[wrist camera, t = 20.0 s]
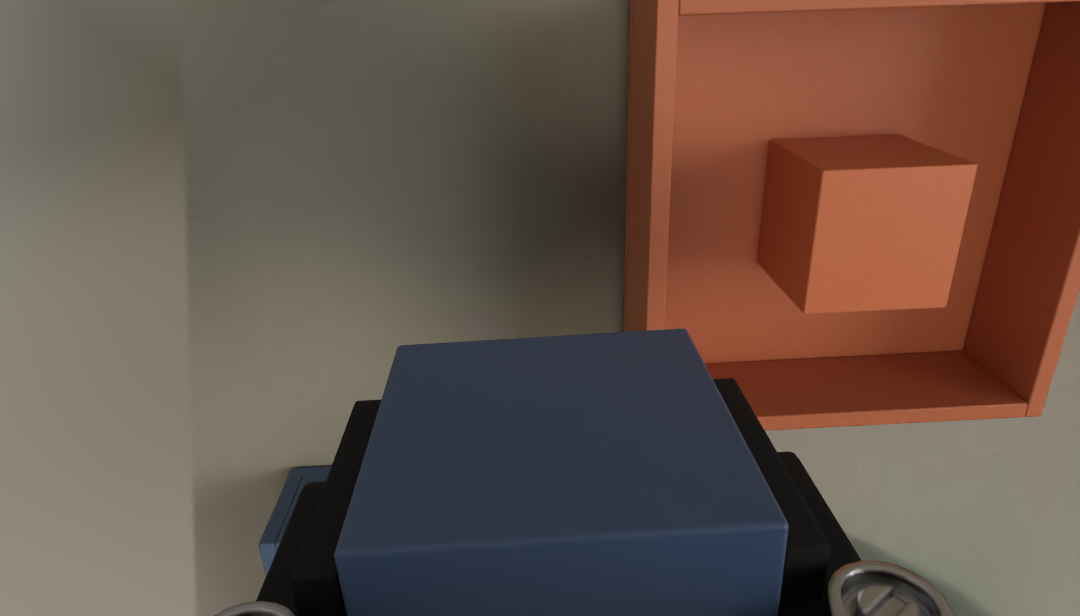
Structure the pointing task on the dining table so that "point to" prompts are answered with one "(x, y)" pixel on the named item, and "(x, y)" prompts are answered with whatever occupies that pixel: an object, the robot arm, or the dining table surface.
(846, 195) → the terracotta block
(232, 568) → the dining table surface
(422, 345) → the slate block
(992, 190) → the terracotta bin
